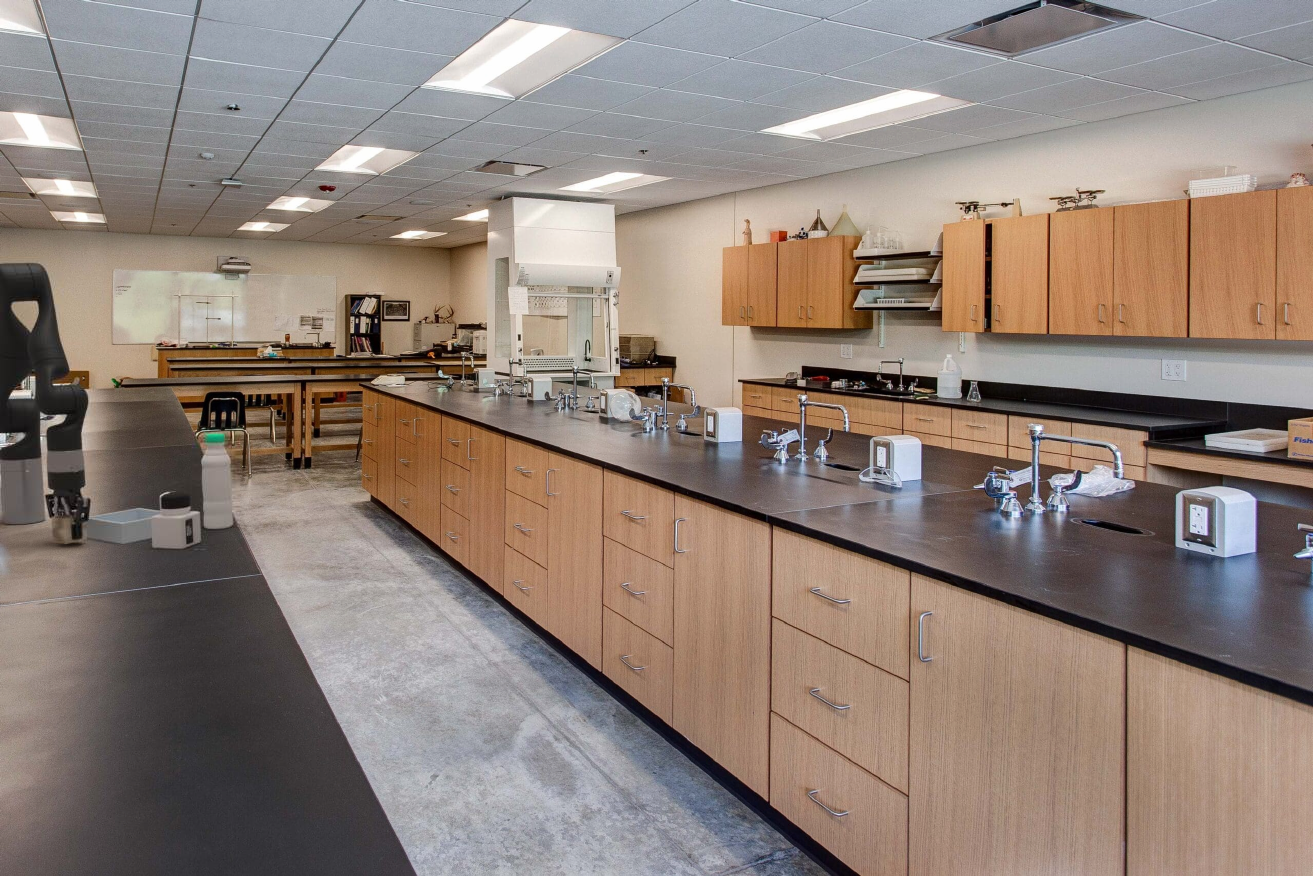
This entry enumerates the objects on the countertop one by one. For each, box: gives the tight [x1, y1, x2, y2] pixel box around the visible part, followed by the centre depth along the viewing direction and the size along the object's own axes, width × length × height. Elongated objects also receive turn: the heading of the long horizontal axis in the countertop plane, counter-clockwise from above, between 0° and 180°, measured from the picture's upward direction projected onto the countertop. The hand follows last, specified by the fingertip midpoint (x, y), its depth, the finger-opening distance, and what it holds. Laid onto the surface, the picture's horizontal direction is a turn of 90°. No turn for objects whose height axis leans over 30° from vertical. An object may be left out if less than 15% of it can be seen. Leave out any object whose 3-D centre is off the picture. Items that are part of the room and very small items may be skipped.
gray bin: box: [86, 507, 162, 545], centre depth 227 cm, size 15×15×5 cm
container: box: [151, 490, 202, 550], centre depth 216 cm, size 8×8×13 cm
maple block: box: [50, 514, 88, 545], centre depth 215 cm, size 5×5×6 cm
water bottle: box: [200, 432, 234, 530], centre depth 236 cm, size 7×7×25 cm
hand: (69, 537), depth 215 cm, fingers closed on maple block, 5 cm apart
